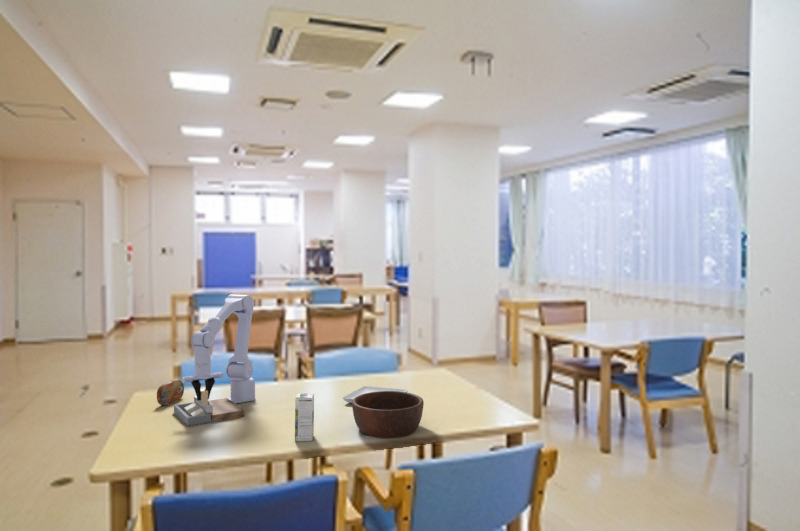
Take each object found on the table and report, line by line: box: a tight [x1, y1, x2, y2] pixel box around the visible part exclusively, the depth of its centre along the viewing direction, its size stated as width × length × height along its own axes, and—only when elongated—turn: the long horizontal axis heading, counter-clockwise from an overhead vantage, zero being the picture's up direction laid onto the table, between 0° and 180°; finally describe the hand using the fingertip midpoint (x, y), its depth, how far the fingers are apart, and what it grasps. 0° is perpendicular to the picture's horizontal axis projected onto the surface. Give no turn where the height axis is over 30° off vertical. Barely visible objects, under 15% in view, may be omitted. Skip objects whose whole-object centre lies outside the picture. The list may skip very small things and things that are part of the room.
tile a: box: [184, 403, 199, 415], centre depth 203 cm, size 4×4×2 cm
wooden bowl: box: [351, 391, 425, 439], centre depth 187 cm, size 25×25×10 cm
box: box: [173, 401, 212, 427], centre depth 199 cm, size 8×20×3 cm, turn 36°
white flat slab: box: [193, 387, 213, 414], centre depth 201 cm, size 2×16×7 cm, turn 36°
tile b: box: [191, 408, 205, 417], centre depth 196 cm, size 4×4×2 cm
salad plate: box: [342, 385, 409, 404], centre depth 222 cm, size 21×21×3 cm
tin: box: [156, 379, 185, 406], centre depth 219 cm, size 15×3×8 cm, turn 168°
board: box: [199, 397, 245, 423], centre depth 205 cm, size 12×20×2 cm, turn 36°
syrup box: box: [294, 392, 315, 442], centre depth 177 cm, size 6×6×14 cm
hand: (203, 399), depth 201 cm, fingers closed on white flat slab, 2 cm apart
